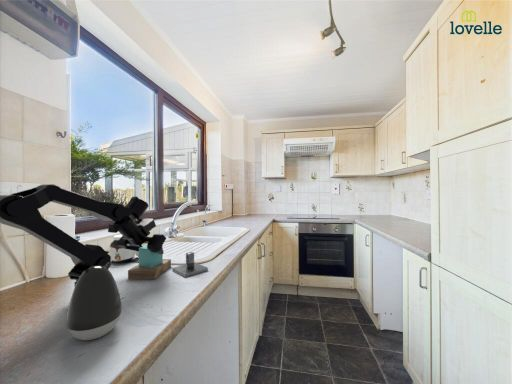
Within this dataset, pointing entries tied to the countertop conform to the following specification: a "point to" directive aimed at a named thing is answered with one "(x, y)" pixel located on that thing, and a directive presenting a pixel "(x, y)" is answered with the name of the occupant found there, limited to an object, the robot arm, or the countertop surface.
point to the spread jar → (121, 252)
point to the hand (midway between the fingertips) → (153, 252)
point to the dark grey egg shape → (94, 304)
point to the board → (149, 271)
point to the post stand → (189, 267)
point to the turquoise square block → (149, 258)
